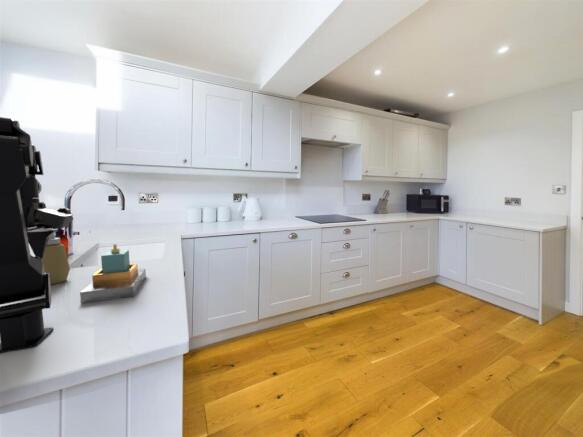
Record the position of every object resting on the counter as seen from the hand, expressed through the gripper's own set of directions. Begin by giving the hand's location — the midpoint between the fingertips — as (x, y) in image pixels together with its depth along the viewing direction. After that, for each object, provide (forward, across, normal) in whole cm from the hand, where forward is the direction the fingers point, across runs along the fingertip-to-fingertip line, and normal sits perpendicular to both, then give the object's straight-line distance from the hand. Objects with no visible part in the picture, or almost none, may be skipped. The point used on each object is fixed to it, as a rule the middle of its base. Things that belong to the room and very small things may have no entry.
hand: (29, 263), depth 60 cm
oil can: (+9, +10, -15) cm, 20 cm away
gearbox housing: (+12, +10, -15) cm, 22 cm away
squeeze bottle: (+12, +24, +6) cm, 28 cm away
